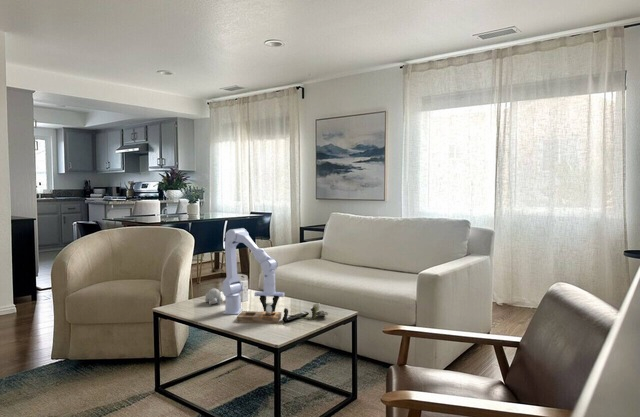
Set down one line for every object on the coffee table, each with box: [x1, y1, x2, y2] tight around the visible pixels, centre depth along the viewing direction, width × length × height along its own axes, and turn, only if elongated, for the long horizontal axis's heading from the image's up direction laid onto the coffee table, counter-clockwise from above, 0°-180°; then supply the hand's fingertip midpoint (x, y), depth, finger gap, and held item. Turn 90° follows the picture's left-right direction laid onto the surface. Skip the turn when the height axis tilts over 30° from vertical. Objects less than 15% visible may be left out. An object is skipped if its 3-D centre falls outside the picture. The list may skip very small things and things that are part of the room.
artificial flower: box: [282, 302, 329, 322], centre depth 225 cm, size 9×22×10 cm, turn 105°
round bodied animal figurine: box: [204, 287, 224, 306], centre depth 254 cm, size 7×12×8 cm, turn 47°
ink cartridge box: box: [237, 273, 249, 303], centre depth 261 cm, size 9×5×15 cm, turn 58°
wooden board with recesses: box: [236, 310, 282, 324], centre depth 223 cm, size 10×20×3 cm, turn 84°
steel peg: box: [264, 302, 274, 316], centre depth 222 cm, size 4×4×7 cm
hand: (269, 311), depth 222 cm, fingers closed on steel peg, 4 cm apart
